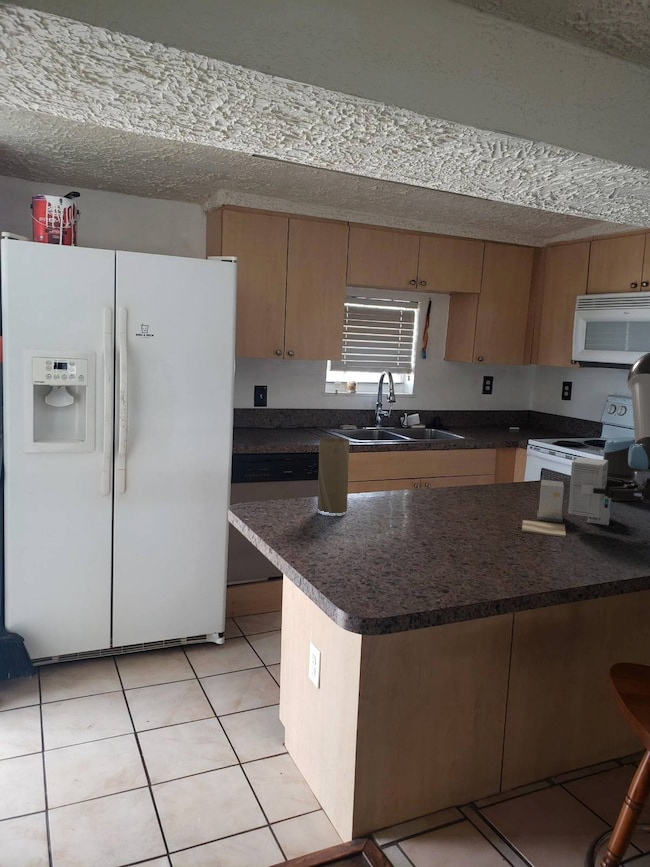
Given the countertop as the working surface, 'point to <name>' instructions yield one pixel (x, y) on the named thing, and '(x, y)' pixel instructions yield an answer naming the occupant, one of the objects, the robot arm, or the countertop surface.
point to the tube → (333, 474)
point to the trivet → (543, 528)
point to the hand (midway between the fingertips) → (580, 484)
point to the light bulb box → (603, 514)
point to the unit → (551, 501)
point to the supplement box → (587, 474)
